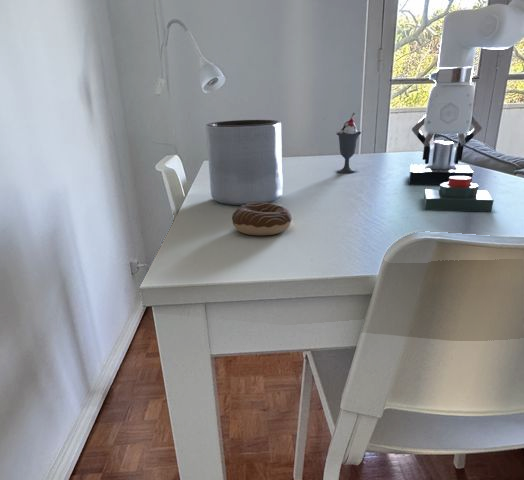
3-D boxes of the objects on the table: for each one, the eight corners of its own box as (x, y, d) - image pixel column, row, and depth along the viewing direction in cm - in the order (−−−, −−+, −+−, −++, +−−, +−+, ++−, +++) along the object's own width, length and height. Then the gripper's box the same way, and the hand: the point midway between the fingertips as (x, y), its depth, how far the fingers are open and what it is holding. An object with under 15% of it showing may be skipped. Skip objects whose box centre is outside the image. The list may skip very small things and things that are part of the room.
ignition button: (468, 185, 94) (470, 175, 93) (470, 189, 90) (472, 179, 89) (447, 184, 95) (448, 175, 94) (448, 188, 91) (450, 179, 90)
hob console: (466, 178, 119) (468, 164, 117) (470, 185, 110) (473, 171, 109) (409, 177, 122) (410, 164, 121) (409, 184, 114) (410, 171, 112)
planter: (207, 208, 99) (200, 126, 91) (215, 192, 113) (209, 121, 105) (283, 206, 98) (283, 124, 91) (281, 190, 112) (281, 118, 105)
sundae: (353, 174, 129) (357, 113, 122) (330, 172, 132) (333, 113, 125) (362, 170, 134) (366, 111, 126) (340, 169, 137) (343, 111, 130)
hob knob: (448, 167, 116) (452, 140, 113) (450, 169, 113) (454, 142, 110) (430, 166, 117) (434, 140, 114) (431, 169, 114) (435, 142, 111)
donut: (239, 221, 89) (238, 199, 87) (295, 222, 87) (295, 200, 85) (225, 237, 80) (224, 213, 78) (287, 239, 78) (287, 214, 76)
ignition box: (484, 201, 96) (488, 181, 94) (491, 211, 89) (495, 190, 87) (423, 200, 99) (426, 180, 97) (424, 210, 92) (427, 188, 90)
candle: (415, 171, 130) (418, 146, 127) (440, 168, 133) (444, 143, 130) (438, 175, 123) (442, 149, 120) (464, 172, 126) (469, 146, 123)
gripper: (413, 79, 104) (404, 165, 113) (498, 76, 100) (481, 166, 109) (413, 79, 111) (404, 160, 119) (492, 76, 106) (477, 161, 115)
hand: (441, 162), depth 114 cm, fingers open, 6 cm apart
